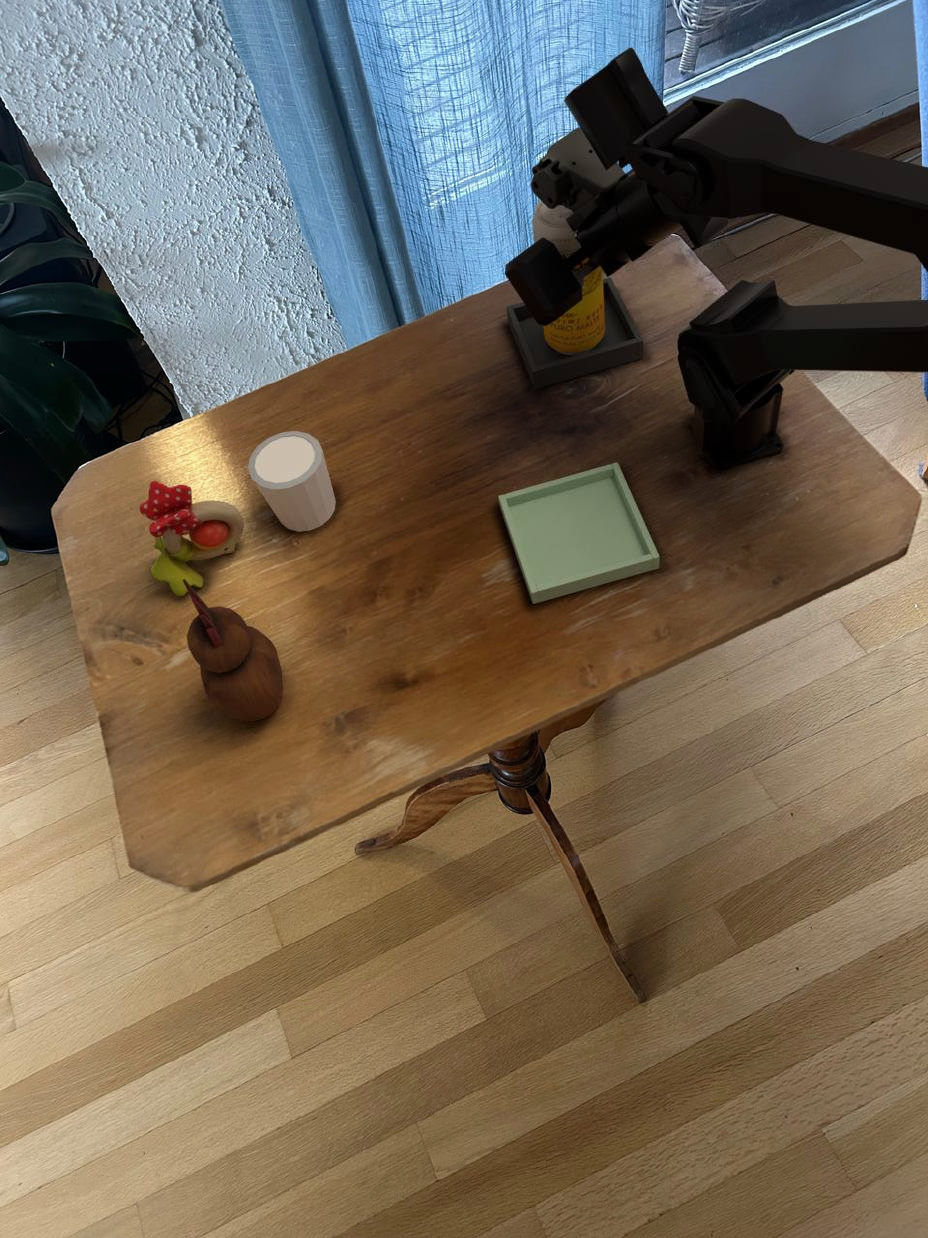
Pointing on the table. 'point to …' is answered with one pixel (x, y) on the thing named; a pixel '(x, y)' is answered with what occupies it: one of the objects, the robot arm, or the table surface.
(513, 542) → the sage tray
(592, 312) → the beer can
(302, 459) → the white cup
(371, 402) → the table surface
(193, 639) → the wooden figurine
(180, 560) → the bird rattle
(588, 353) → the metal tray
